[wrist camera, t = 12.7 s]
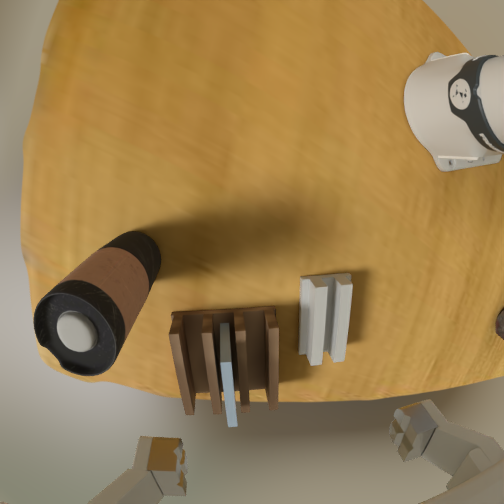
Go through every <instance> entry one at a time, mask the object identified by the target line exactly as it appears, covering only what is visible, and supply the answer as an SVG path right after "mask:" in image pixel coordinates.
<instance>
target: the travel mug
mask: <svg viewBox="0 0 504 504" xmlns="http://www.w3.org/2000/svg"><path fill="white" fill-rule="evenodd" d="M160 265H161V255H160V251H159V249H158V246H157V245H156V243H155V242H154V241H153V240H152V239H151V238H150V237H149V236H147V235H145V234H143V233H140V232H134V231H132V232H126V233H124V234H122V235H120V236H118V237H117V238H115V239H114V240H112V241H111V242H109V243H108V244H106V245H105V246H103V247H102V248H100V249H99V250H97V251H96V252H95V253H93V254H92V255H91V256H90V257H88V258H87V259H86V260H85V261H84V262H83V263H81V264H80V265H79V266H78V267H77V268H76V269H74V270H73V271H72V272H71V273H70V274H69V275H67V276H66V277H65V278H64V279H63V280H62V281H61V282H60V283H58V284H57V285H56V286H55V287H54V288H53V289H52V290H51V291H50V292H48V293H47V294H46V295H45V296H44V297H43V298H42V299H41V300H40V302H39V303H38V305H37V307H36V309H35V313H34V329H35V334H36V337H37V339H38V342H39V343H40V345H41V346H43V347H46V348H47V349H48V350H49V351H50V352H51V353H52V354H53V355H54V356H55V357H56V358H57V359H58V361H59V362H60V365H61V367H62V368H64V369H65V370H67V371H69V372H71V373H74V374H77V375H82V376H95V375H99V374H102V373H104V372H105V371H107V370H108V369H109V368H110V367H111V366H112V365H113V364H114V362H115V360H116V358H117V356H118V354H119V352H120V350H121V348H122V346H123V344H124V342H125V340H126V338H127V336H128V334H129V332H130V330H131V328H132V326H133V324H134V322H135V320H136V318H137V316H138V314H139V312H140V311H141V309H142V307H143V305H144V303H145V301H146V299H147V297H148V294H149V292H150V290H151V287H152V285H153V283H154V280H155V278H156V276H157V273H158V271H159V268H160Z"/></svg>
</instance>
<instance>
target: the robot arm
mask: <svg viewBox="0 0 504 504" xmlns="http://www.w3.org/2000/svg"><path fill="white" fill-rule="evenodd" d="M404 106H405V112H406V116H407V119H408V122H409V125H410V127H411V129H412V131H413V133H414V135H415V136H416V138H417V139H418V140H419V142H420V143H421V144H422V145H423V146H424V147H425V148H426V149H427V150H428V151H429V152H430V153H431V155H432V156H433V159H434V161H435V163H436V165H437V167H438V168H439V170H440V171H443V172H446V171H453V170H458V169H464V168H470V167H476V166H481V165H487V164H494V163H498V162H499V161H500V159H501V157H502V154H504V55H503V56H496V55H483V56H479V57H476V58H474V57H472V56H470V55H469V54H468V53H461V54H456V55H451V56H447V57H446V56H445V55H443V54H441V53H439V52H434V53H431V54H430V55H429V57H428V59H427V61H426V63H425V64H423V65H422V66H420V67H418V68H417V69H415V70H414V71H413V72H412V73H411V75H410V76H409V78H408V80H407V82H406V86H405V91H404ZM449 161H450V164H449ZM394 417H395V420H394V421H393V422H392V423H391V425H390V428H389V433H390V437H391V440H392V442H393V443H394V444H396V445H398V446H399V447H398V453H399V455H400V456H401V458H402V460H403V462H405V461H409V460H412V459H415V458H418V457H420V456H422V458H424V459H425V460H427V461H429V462H430V463H432V464H433V465H435V466H437V467H438V468H440V469H442V470H443V471H445V472H447V473H448V474H450V475H452V476H453V477H452V478H451V479H450V481H449V482H448V483H447V486H446V487H447V489H448V490H447V491H445V492H443V493H441V494H439V495H437V496H435V497H433V498H430V499H428V500H426V501H424V502H421V503H419V504H504V450H503V449H502V448H501V447H500V445H499V444H498V443H497V442H496V440H495V439H494V438H492V437H490V436H487V435H484V434H481V433H479V432H476V431H474V430H471V429H468V428H466V427H463V426H461V425H458V424H456V423H453V422H450V423H449V422H448V421H447V420H446V418H445V417H444V416H443V415H442V413H441V412H440V411H439V410H438V408H437V407H436V406H435V404H434V403H433V402H432V401H431V400H429V399H427V400H425V401H421V402H418V403H414V404H411V405H408V406H405V407H402V408H399V409H397V410H396V411H395V413H394ZM187 468H188V464H187V456H186V452H185V451H184V450H183V443H182V439H181V438H164V437H146V436H140V438H139V439H138V444H137V448H136V453H135V457H134V461H133V466H132V469H127V471H125V472H124V473H123V474H122V475H120V476H119V477H118V478H117V479H116V480H115V481H113V482H112V483H111V484H110V485H109V486H107V487H106V488H105V489H104V490H103V491H102V492H100V493H99V494H98V495H97V496H95V497H94V498H93V499H92V500H91V501H89V502H88V504H158V503H159V502H160V501H161V499H162V498H163V497H164V495H165V496H186V488H187V481H186V479H185V475H186V474H187ZM0 504H8V503H5V502H0Z"/></svg>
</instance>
